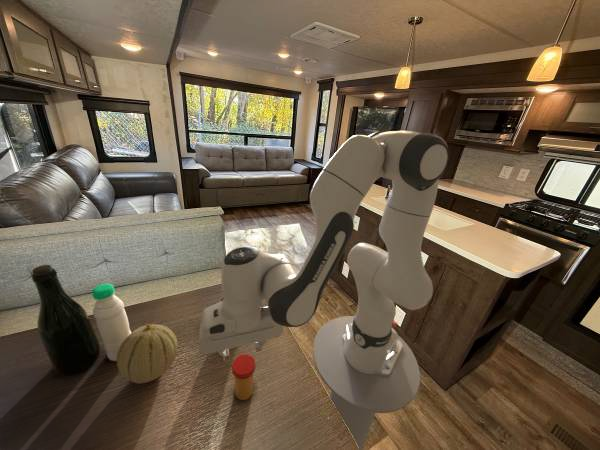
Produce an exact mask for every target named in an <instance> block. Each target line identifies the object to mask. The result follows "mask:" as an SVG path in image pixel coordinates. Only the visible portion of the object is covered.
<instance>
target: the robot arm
mask: <svg viewBox="0 0 600 450" xmlns="http://www.w3.org/2000/svg"><path fill="white" fill-rule="evenodd" d="M449 161H450V151H449V147H448V143H447V141H446V140H445V139H443V138H442V137H441V136H438V135H436V134H433V133H430V132H418V131H414V130H413V131H412V130H392V131H391V130H390V131H387V130H379V131H376V132H373V133H371V134H369V135H365V134H355V135H352V136H351V137H349V138H348V139H347V140H346V141H345V142H344V143H342V145H341V146H340V147H339V148H338V149H337V150H336V152H335V153H334V154H333V155H332V157H331V158H330V159H329V160H328V162H327V163H326V164H325V166H324V167H323V168H322V170H321V172H320V173H319V174H318V176H317V178H316V179H315V180H314V183H313V185H312V187H311V190H310V193H309V205H310V208H311V210H312V214H313V216H314V219H315V226H316V236H315V240H314V243H313V244H312V247H311V249H310V251H309V253H308V254H307V256H306V258H305V260H304V262H303V264H302V266H301V268H299V267H298V265H297V263H295V261H294V260H293V259H292V257H291V256H289V255H288V254H286V253H281V252H278V253H269V252H264V251H262V250H261V249H259V248H257V247H255V246H252V245H243V246H239V247H236V248H234V249H231V250H230V251H229V252H228V253H227V254H226V255H225V256H224V259H223V261H222V264H221V270H220V271H221V272H220V287H221V293H222V296H223V295H224V298H223V301H221V302H219V301H218V302H217V303H215V304H212V305H210V306H207V307H206V308H204V309H203V311H202V317H201V318H202V320H201V322H200V324H199V330H198V353H199V354H200V355H202V356H206V355H210V354H213V353H218V354H219V356H221V357H222V360H223V362H224V361H228V360H230V359H231V358H230V349H234V348H238V347H243V346H247V345H250V344H255V346H254V348H255V351H256V353H258V352H262V351H263V347H264V346H265V344H266V343H267V341H268V340H272V339H276V338H279V337H281V336H282V335H283V334H284V327H286V328H298V327H301V326H304V325H305V324H307V323H308V322H309V321H310V320H311V319H312V318H313V317H314V315H315V314H316V312H317V310H318V307H319V305H320V301H321V298H322V294H323V292H324V290H325V288H326V285H327V284H328V282H329V281H330V278H331V277H332V275H333V273H334V271H335V270H336V267H337V265H338V264H339V262H340V260H341V258H342V256H343V254H344V252H345V251H346V249H347V246H348V245H349V242H350V241H351V238H352V236H353V232H354V228H355V222H354V221H355V217H356V214H357V211H358V210H359V207H360V205H361V204H362V202H363V200H364V199H365V198H366V196H367V195H368V194H369V192H370V190H371V188H372V187H373V185H374V183H375V182H376V181H377V180H378V179H380V178H383V179H386V180H388V181H391V184H392V186H391V187H392V188H391V189H390V192H389V195H388V197H387V200H386V203H385V207H384V210H383V212H382V216H381V220H380V223H379V226H378V234H379V237H380V238H381V240H382V241H383V243H384V245H385V247H386V250H387V251H386V250H384V249H382V248H380V247H379V246H376V245H374V244H371V243H367V242H359V243H357V244H355V245H354V246H353V247H351V249H350V251H349V253H348V255H347V258H346V263H347V267H348V268H349V270H350V272H351V274H352V276H353V279H354V282H355V286H356V290H357V299H358V300H357V307H356V313H355V315H354V316H355V317H354V319H353V323H352V324H350V325H349V328H348V325H347V326H346V327H347V333H346V334H344V335H343V337H342V339H343V342H344V349H343V350H344V356H345V358H346V360H347V361H348V363H349V364H350V365H351V366H352V367H353V368H354V369H356V370H358V371H359V372H362V373H365V374H371V375H373V374H380V375H383V376H389V375H390V374H391V371H392V369H393V367H394V365H395V363H396V361H397V359H398V357H399V354H400V352H401V350H402V347H403V345H402V343H401V342H400V341H399V339H398V336H399V333H398V332H397V331H396V330H395V328H396V327H397V324H398V322H396V321H395V317H396V311H397V310H396V305H395V304H397V305H398V306H401V307H402V308H406V309H407V310H410V311H416V310H420V309H422V308H424V307H425V306H426V305H428V304H429V303H430V301H431V299H432V297H433V294H434V284H433V281H432V279H431V278H430V276H429V274H428V273H427V271H426V268H425V265H424V262H423V257H422V244H423V240H424V236H425V232H426V229H427V227H428V224H429V220H430V218H431V215H432V212H433V210H434V206H435V202H436V200H437V199H436V198H437V194H438V189H439V181H440V180H439V179H440V178H441V177H442V176H443V174H444V173H445V172H446V169H447V167H448V164H449ZM264 299H265V300H266V303H267V306H263V307H262V304H263V302H262V301H263V300H264ZM387 369H388V370H387Z"/></svg>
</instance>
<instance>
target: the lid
mask: <svg viewBox="0 0 600 450" xmlns="http://www.w3.org/2000/svg"><path fill="white" fill-rule="evenodd" d="M231 369H232V371H231V372H232V375H233V376H234V378H235V377H236V378H238V379H247V378H249V377H250V376H252V374H253V375H254V374H255V371H256V359H255V357H253V356H252V355H251V354H249V353H243V354H240V355H238V356H236V357H235V359H234V360H233V361H232V366H231Z"/></svg>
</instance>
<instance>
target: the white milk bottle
mask: <svg viewBox="0 0 600 450" xmlns="http://www.w3.org/2000/svg"><path fill="white" fill-rule="evenodd" d="M115 293H116V292H115V287H114V285H113V284H111V283H102V284H99V285H97V286H95V287H94V288H93V289H92V291H91V295H92V297H93V299H94V300H95V303H94V306H93V309H92V315H93V317H94V319H95V323H96V326H97V330H98V333H99V335H100V338H101V340H102V344H103V347H104V349H105V353H106V356H107V359H108V360H110V361H112V362H117V359H116V358H117V353H118V350H119V347H120V346H121V344H122V342H123V341H124V340H125V339H126V337H128V336H129V335H130V334H131V333H132V331H131V329H130V322H129V318H128V315H127V312H126V310H125V304H124V301H123V300H122V299H121V298H119V297H118V296H117V295H116V294H115Z"/></svg>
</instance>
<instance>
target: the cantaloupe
mask: <svg viewBox="0 0 600 450" xmlns="http://www.w3.org/2000/svg"><path fill="white" fill-rule="evenodd" d="M178 349H179V343H178V339H177V336H176V334H175V333H174V332H173V331H172V329H170V327H168V326H166V325H162V324H155V323H153V324H149V323H146V324H145V325H143V326H139V327H138V328H136V329H134V330H133V331H131V334H130V335H129V336H128V337H126V339H125V340H124V341H123V342H122V344H121V346H120V347H119V350H118V353H117V358H116V359H117V361H116V366H117V369H118V372H119V374H120V375H121V376H122V378H123V379H124V380H127V381H130V382H132V383H135V384H145V383H146V384H147V383H149V382H152V381H154V380H157V379H158V378H160V377H161V376H163V374H165V373H166V372H167V371H168V370H169V369H170V368H171V366H172V365H173V363H174V361H175V359H176V356H177V353H178Z"/></svg>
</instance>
